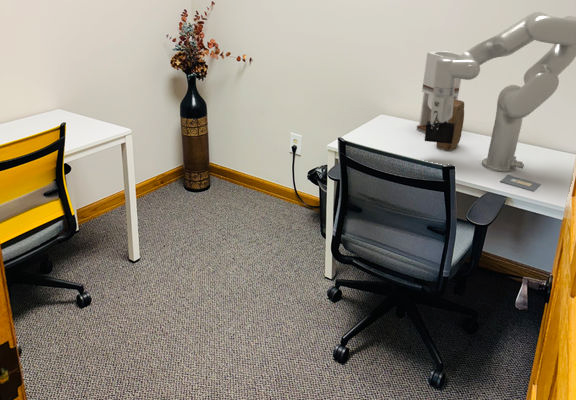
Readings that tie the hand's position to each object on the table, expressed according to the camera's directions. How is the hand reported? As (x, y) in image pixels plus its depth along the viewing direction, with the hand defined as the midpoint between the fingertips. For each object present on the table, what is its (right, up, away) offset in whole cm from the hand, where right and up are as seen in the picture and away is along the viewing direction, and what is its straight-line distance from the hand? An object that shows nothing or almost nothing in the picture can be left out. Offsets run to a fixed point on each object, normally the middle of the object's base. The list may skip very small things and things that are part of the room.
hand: (438, 136), depth 212 cm
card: (+26, -19, -13) cm, 35 cm away
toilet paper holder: (+8, +6, +36) cm, 38 cm away
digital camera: (0, -2, +1) cm, 2 cm away
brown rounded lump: (+9, -3, +19) cm, 21 cm away
